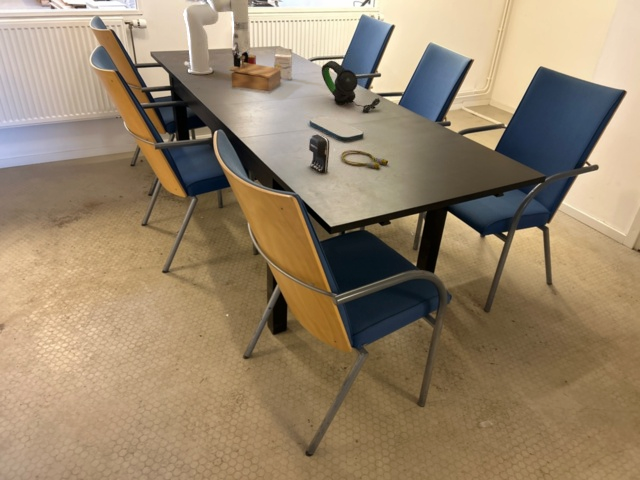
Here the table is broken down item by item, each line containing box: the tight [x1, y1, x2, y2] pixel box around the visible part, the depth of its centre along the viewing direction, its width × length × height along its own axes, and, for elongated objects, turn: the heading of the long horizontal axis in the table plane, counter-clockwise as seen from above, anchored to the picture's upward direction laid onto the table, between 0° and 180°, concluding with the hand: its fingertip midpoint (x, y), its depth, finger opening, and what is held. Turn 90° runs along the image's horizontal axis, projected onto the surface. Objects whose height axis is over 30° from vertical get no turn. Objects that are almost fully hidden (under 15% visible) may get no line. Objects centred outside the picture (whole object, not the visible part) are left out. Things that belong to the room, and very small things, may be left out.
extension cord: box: [341, 149, 389, 169], centre depth 168 cm, size 12×16×2 cm
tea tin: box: [248, 54, 257, 65], centre depth 248 cm, size 5×5×11 cm
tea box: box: [230, 71, 282, 92], centre depth 237 cm, size 19×16×7 cm
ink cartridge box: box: [273, 47, 293, 80], centre depth 249 cm, size 9×5×15 cm, turn 84°
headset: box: [321, 60, 381, 113], centre depth 217 cm, size 18×14×29 cm
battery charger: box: [308, 133, 330, 174], centre depth 157 cm, size 7×4×11 cm, turn 33°
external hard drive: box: [309, 115, 364, 142], centre depth 191 cm, size 24×12×2 cm, turn 37°
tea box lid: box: [229, 54, 281, 78], centre depth 234 cm, size 20×16×5 cm
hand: (241, 64), depth 236 cm, fingers open, 8 cm apart
